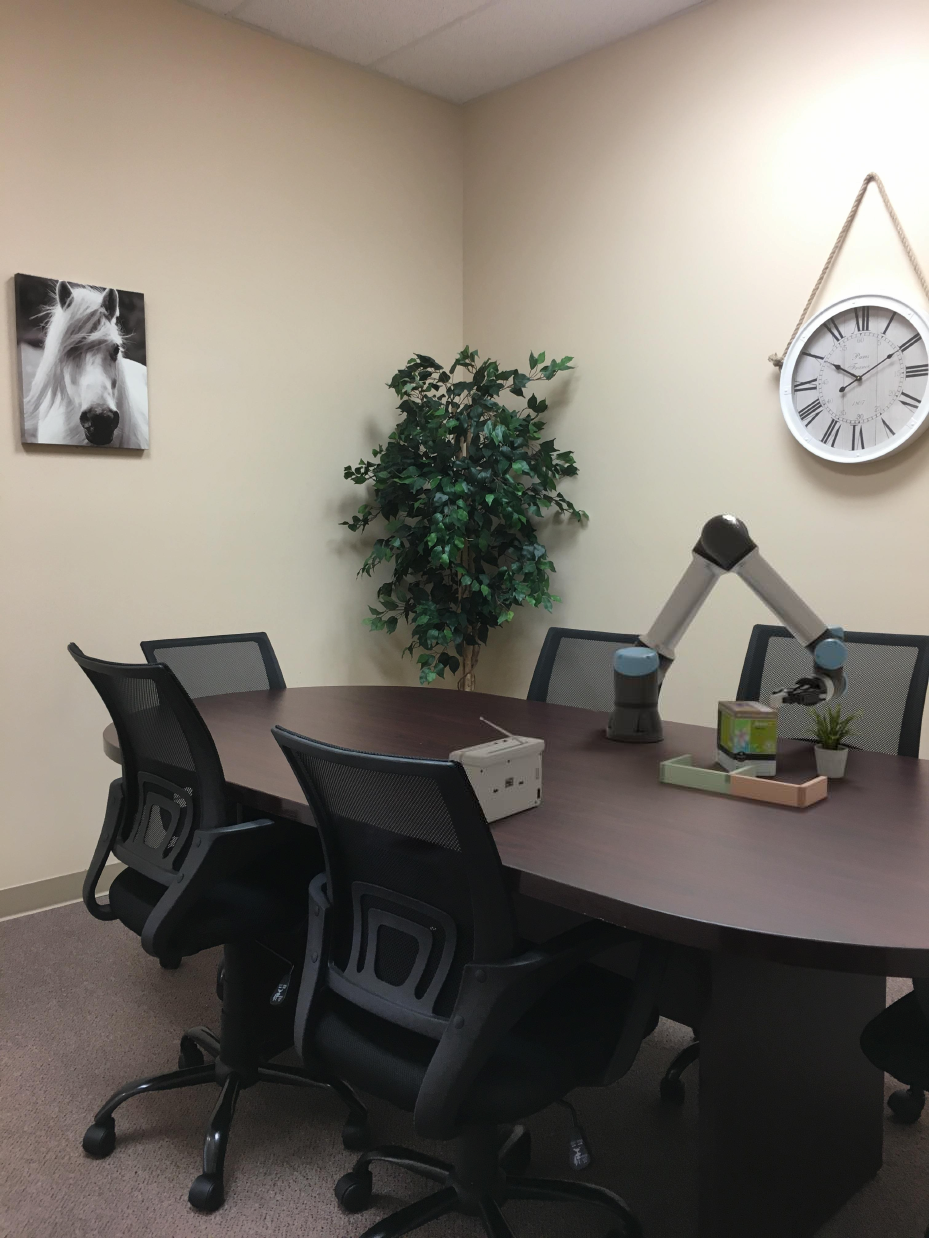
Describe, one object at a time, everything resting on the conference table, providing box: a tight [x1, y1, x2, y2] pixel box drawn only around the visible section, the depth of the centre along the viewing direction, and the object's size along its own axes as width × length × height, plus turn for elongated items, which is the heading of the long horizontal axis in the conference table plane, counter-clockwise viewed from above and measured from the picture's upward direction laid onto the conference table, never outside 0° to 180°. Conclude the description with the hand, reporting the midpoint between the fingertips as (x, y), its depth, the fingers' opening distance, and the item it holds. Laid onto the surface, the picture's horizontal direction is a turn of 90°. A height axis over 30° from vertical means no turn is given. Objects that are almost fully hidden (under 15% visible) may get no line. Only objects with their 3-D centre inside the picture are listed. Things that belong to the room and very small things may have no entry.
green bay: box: [659, 753, 757, 795], centre depth 204 cm, size 16×12×4 cm
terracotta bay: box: [729, 774, 828, 809], centre depth 193 cm, size 15×12×4 cm
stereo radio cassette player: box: [448, 716, 546, 824], centre depth 180 cm, size 21×8×20 cm, turn 141°
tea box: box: [715, 700, 779, 777], centre depth 216 cm, size 15×10×15 cm
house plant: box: [803, 702, 865, 779], centre depth 209 cm, size 14×14×16 cm
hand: (773, 701), depth 225 cm, fingers closed
